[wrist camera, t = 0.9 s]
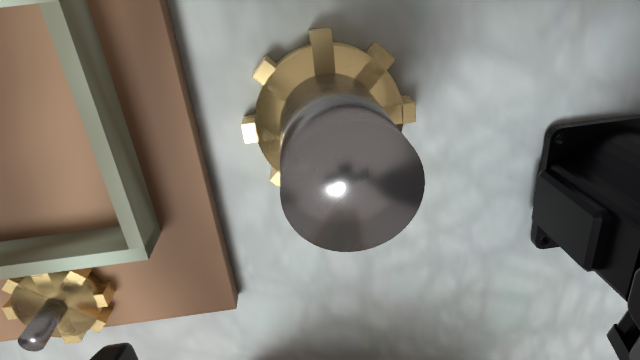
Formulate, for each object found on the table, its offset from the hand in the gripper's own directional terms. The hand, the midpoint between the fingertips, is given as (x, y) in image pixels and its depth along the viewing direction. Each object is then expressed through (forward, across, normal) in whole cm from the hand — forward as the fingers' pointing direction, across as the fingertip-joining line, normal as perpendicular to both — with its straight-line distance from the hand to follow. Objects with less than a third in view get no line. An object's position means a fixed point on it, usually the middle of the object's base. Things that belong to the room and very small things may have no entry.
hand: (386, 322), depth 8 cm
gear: (+11, +13, +6) cm, 18 cm away
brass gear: (+12, 0, 0) cm, 12 cm away
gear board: (+12, +13, 0) cm, 17 cm away
